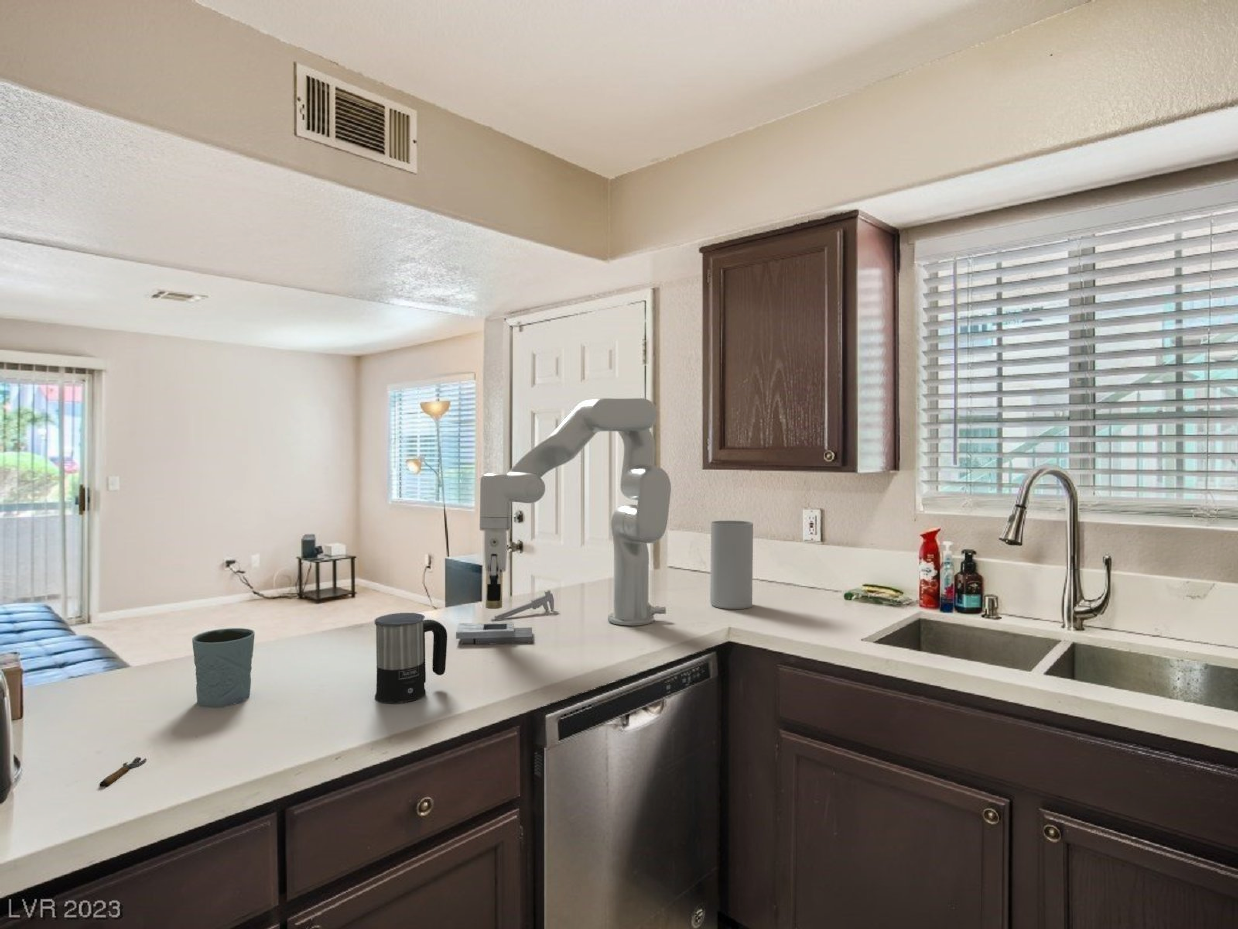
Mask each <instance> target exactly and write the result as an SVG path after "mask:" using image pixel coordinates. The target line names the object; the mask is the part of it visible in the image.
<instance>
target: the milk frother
mask: <svg viewBox="0 0 1238 929" xmlns="http://www.w3.org/2000/svg"><path fill="white" fill-rule="evenodd" d="M425 618H426V617H425V615H424V614H422V613H417V612H416V613H415V612H396V613H390V614H384V615H381V616H379V617H375V618H374V620H373V622H374V625H375V628H376V629H375V633H376V634H375V636H376V638H375V640H376V642H375V643H376V644H375V646H376V648H375V649H376V650H375V651H376V682H375V683H376V688H375V694H374V699H375V700H376V701H377V702H380V703H385V704H404V703H410V702H413V701H416V700H419V699H421V698H423V697H424V696H425V695H426V693H427V691H426V688H425V683H426V681H427V677H426V676H427V674H426V673H427V672H426V635H425V634H426V633H427V632H432V634H433V636H432V637H433V643H432V668H431V669H432V672H433V673H434V674H435V675H437V676H443V675H444V674H445V672H446V664H447V649H448V648H447V646H448V633H447V629H446V627H445V626H444V625H443V624H442V623H441V622H439V621H438V620H437V621H436V620H434V619H425Z"/></svg>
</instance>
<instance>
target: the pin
mask: <svg viewBox="0 0 1238 929" xmlns="http://www.w3.org/2000/svg"><path fill="white" fill-rule="evenodd" d="M488 568H489V566H488ZM490 571H491V569H490ZM496 571H498V569H496ZM503 573H504V572H503V570H500V584H501V599H500V601H487V584H488V572H487V571H486V570H485V608H486V609H487V610H497V609H498V610H499V609H502V608H503V586H504V585H503V581H504V580H503V577H504V576H503V575H504V574H503ZM497 575H498V574H497ZM497 582H498V579H497Z"/></svg>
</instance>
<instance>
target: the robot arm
mask: <svg viewBox="0 0 1238 929" xmlns="http://www.w3.org/2000/svg"><path fill="white" fill-rule="evenodd" d="M658 413H659V412H658V408H657V406H656V405H655V404H654V403H653V401H651V400H649V399H647V398H643V397H642V398H639V397H638V398H637V397H636V398H635V397H634V398H614V397H612V398H610V397H609V398H607V397H605V398H602V397H601V398H594V399H586V400H584V401H582V402H580V403H579V404H578V405H576V407H575V408H574V409H573V410H571V412H570V413H569V414H568V415H567V416H566V417H565V418H564V420H563V421H562V422H561V423H560V424H559V425H558V426H557V427H556V428H555V429H554V430H553V431H552V432H551V434H549V435H548V436H547V437H546V438H545V439H544V440H542V441H541V442H539V443H537V445H536V446H534V448H532V449H531V450H530V451H528V452H527V453H526V454H525V455H523V456H522V457H521V458H520V459H519V460H518V461H517V462H516V463H515V464H514V466H512V468H510V470H509V471H508V472H507V473H484V474H483V475H481V477H480V480H479V481H480V482H479V483H480V484H479V487H480V490H479V530H480V531H481V532H484V539H483V540H484V542H483V543H484V546H483V547H484V565H485V566H484V568H485V572H486V571H487V572H488V584H487V601H500V599H501V584H500V570H503V573H505V572H506V571H507V560H508V559H507V557H508V556H507V553H508V550H507V548H508V540H507V538H508V537H507V535H508V534H507V532H509V531H511V530H512V527H511V526H512V503H522V504H534V503H537V502H538V501H540V500H541V499H542V498H543V496H544V495H545V493H546V484H545V482H544V480H543V479H542V477H543V476H545V475H546V474H547V473H549V472H550V471H551V470H553V469H556V468H557V467H560V466H563V465H564V464H567V463H568V462H570V461H572V460H573V459H575V457H577V455H578V454H580V453H581V451H582V450H583V448H584V447H585V446H587V444H588V443H589V442H590V441H591V440H592V438H593V437H594V436H595V435H596V434H597V433H599V432H617V433H618V434H619V436H620V437H621V439H622V443H623V459H622V467H621V476H620V491H621V493H622V495H623V496H624V497H625V498H627V499H630V500H635V501H637V504H625V505H622V506H619V507H618V508H616V509H615V511H614V512H613V514H612V516H611V521H610V527H611V528H610V529H611V535H612V540H613V557H614V558H613V612H612V613H609V614H608V616H607V620H608V621H607V622H610V623H611V624H614V625H620V626H630V627H631V626H634V627H635V626H643V625H645V626H646V625H649V624H652V623H654V621H655V615H657V614H658V615H666V614H667V608H666V606H660V605H652V604H651V603H650V602H649V599H650V598H649V594H650V593H649V588H650V586H649V585H650V584H649V583H650V582H649V578H650V575H649V574H650V571H649V570H650V566H649V565H650V553H649V548H648V544H653V543H657V542H658V541H661V539H662V538H663V536H664V535H665V532H666V530H667V525H668V521H669V520H668V519H669V509H670V504H671V494H672V493H671V492H672V485H671V484H672V483H671V479H670V476H669V474H668V473H667V471H665V469H663V468H662V467H660V466H657V465H655V460H656V459H655V457H656V444H655V438H654V436H653V434H652V433H653V432H651V430H650V429H652V428H653V427H654V426H655V424H656V423H657V421H658V418H659V417H658V416H659V414H658ZM488 566H489V568H488ZM490 569H491V571H490ZM496 569H498V571H496ZM497 574H498V575H497ZM497 579H498V582H497Z"/></svg>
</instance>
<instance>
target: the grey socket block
mask: <svg viewBox="0 0 1238 929" xmlns="http://www.w3.org/2000/svg"><path fill="white" fill-rule="evenodd" d="M455 639H456V640H457V639H458V640H459V639H460V644H461V643H472V644H476V645H491V644H490V643H509V644H529V643H528V642H531V643H530V644H532V643H533V627H515V622H514V621H504V622H502V621H501V622H495V621H492V622H465V623H464V622H461V623H458V626H457V629H456V632H455Z"/></svg>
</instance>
